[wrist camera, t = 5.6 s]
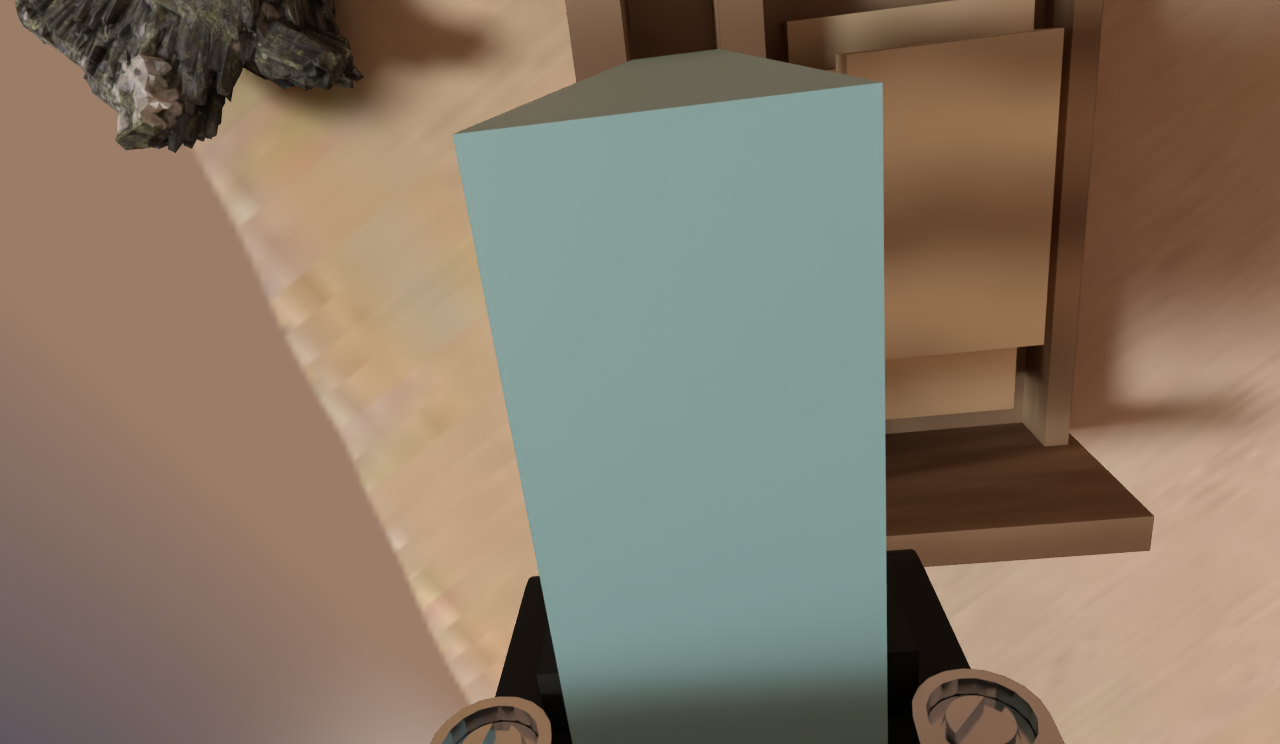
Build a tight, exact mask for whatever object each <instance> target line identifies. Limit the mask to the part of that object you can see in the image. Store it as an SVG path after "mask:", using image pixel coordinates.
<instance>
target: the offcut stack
mask: <svg viewBox="0 0 1280 744" xmlns="http://www.w3.org/2000/svg"><path fill="white" fill-rule="evenodd" d="M1034 11H1035V0H954V1H946V2H938V3H930V4H923V5H915V6H907V7H899V8H891V9H884V10H876V11H868V12H860V13H852V14H845V15H837V16H829V17H821V18H813V19H805V20H798V21H790V22H785V23H781V37H782V57H783V62H786V63H791V64H796V65H800V66H805V67H810V68H815V69H820V70H825V71H830V72H834V73H839V74H844V75H849V76H854V77H859V78H864V79H868V80H873V81H878V82H883V192H884V323H885V420H887V419H899V418H910V417H922V416H933V415H945V414H956V413H968V412H979V411H991V410H1002V409H1014V392H1015V376H1016V357H1017V347H1024V346H1035V345H1044V335H1045V319H1046V304H1047V288H1048V273H1049V257H1050V242H1051V226H1052V211H1053V195H1054V180H1055V164H1056V149H1057V133H1058V118H1059V102H1060V87H1061V71H1062V56H1063V41H1064V28H1051V29H1037V30H1034Z"/></svg>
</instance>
